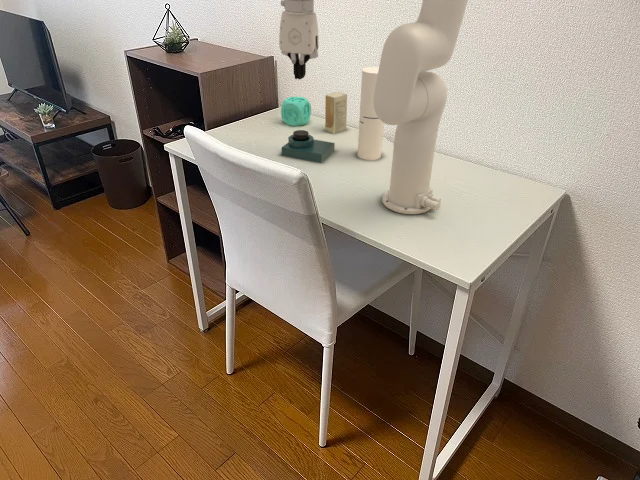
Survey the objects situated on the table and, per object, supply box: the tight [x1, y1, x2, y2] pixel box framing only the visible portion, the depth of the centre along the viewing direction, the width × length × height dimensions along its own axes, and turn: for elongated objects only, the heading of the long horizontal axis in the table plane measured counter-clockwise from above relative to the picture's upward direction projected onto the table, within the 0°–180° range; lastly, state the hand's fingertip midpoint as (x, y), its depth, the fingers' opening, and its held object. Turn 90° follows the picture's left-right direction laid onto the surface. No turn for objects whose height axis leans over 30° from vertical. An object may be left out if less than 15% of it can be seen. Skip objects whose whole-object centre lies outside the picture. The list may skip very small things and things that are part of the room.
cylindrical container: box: [357, 66, 385, 161], centre depth 141 cm, size 7×7×25 cm
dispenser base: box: [281, 134, 336, 164], centre depth 148 cm, size 13×10×4 cm
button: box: [292, 129, 310, 141], centre depth 147 cm, size 5×5×2 cm
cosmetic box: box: [324, 91, 348, 134], centre depth 163 cm, size 6×4×12 cm
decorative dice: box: [280, 96, 312, 127], centre depth 170 cm, size 8×8×8 cm
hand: (299, 77), depth 138 cm, fingers closed
